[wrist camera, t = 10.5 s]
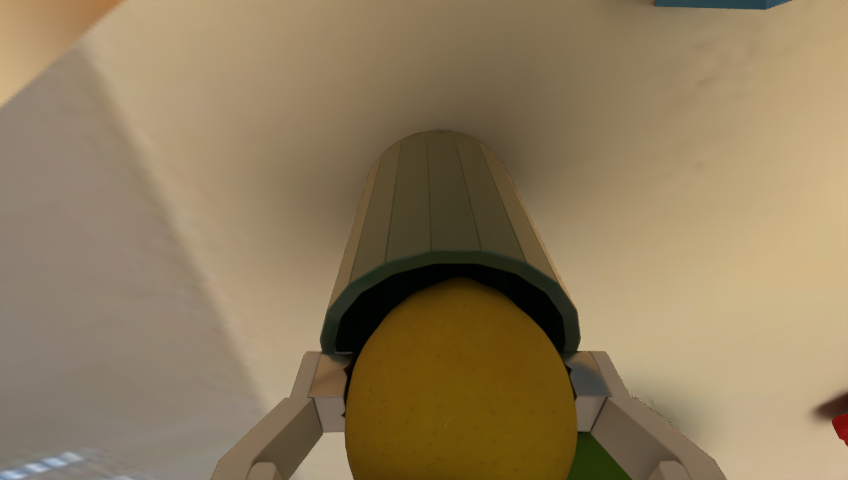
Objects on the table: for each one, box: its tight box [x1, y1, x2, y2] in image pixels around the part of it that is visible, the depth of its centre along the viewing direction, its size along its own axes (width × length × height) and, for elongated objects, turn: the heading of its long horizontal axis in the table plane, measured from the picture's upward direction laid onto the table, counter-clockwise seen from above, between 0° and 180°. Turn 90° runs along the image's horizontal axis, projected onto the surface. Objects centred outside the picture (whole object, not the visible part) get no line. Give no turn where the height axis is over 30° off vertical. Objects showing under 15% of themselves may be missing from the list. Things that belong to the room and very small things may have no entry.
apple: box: [345, 277, 578, 480], centre depth 11 cm, size 6×6×8 cm
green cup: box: [320, 130, 581, 366], centre depth 17 cm, size 9×9×11 cm
